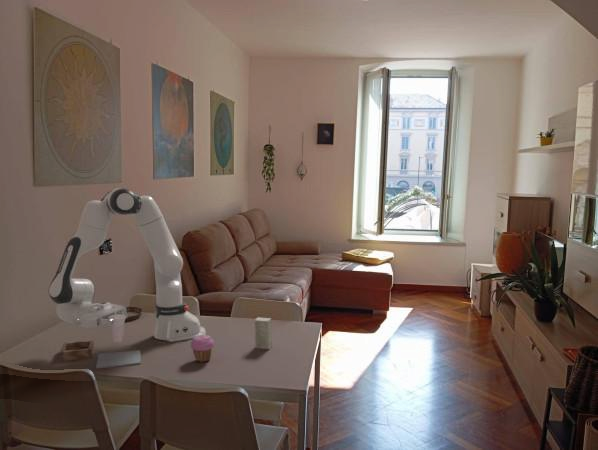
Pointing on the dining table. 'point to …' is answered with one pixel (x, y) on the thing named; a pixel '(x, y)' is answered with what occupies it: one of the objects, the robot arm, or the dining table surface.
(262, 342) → the skincare box
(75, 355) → the walnut holder
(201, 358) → the cupcake
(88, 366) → the dining table surface
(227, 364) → the dining table surface
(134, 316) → the plant saucer
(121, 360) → the slate mat
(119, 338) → the smoothie
